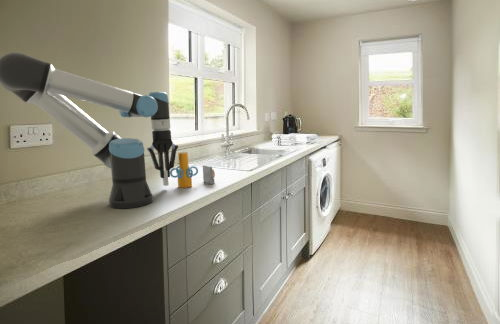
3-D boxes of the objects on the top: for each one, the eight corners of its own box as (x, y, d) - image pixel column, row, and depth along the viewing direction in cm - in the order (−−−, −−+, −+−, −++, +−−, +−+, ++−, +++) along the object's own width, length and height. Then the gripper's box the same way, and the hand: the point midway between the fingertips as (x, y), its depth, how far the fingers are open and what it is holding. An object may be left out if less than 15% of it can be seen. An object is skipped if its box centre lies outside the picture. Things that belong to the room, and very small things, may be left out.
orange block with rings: (191, 189, 147) (189, 154, 145) (168, 189, 149) (165, 154, 147) (201, 183, 159) (199, 150, 156) (179, 183, 161) (177, 151, 158)
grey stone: (210, 184, 156) (209, 167, 154) (203, 181, 162) (202, 164, 161) (216, 183, 157) (216, 166, 156) (209, 180, 164) (208, 164, 163)
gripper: (148, 131, 139) (153, 189, 143) (179, 129, 146) (183, 184, 149) (143, 130, 145) (148, 185, 149) (173, 128, 152) (177, 181, 156)
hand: (166, 185), depth 149 cm, fingers closed
